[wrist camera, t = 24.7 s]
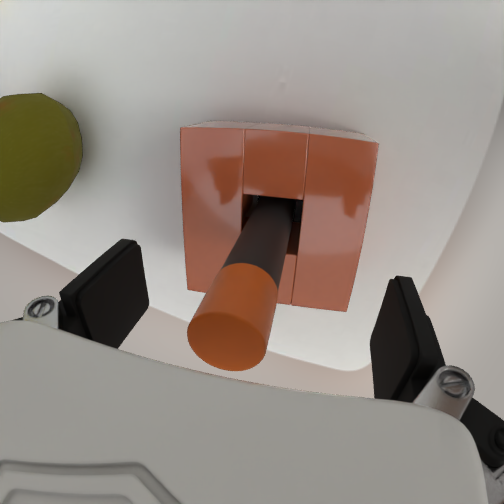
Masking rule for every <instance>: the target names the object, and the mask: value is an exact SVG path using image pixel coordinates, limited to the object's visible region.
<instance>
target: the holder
mask: <svg viewBox="0 0 504 504" xmlns="http://www.w3.org/2000/svg"><path fill="white" fill-rule="evenodd" d="M378 145H379V144H378V143H377V142H376V141H374V140H373V139H371V138H369V137H368V136H366V135H365V134H363V133H356V132H349V131H342V130H335V129H327V128H318V127H309V126H299V125H288V124H275V123H259V122H238V121H207V122H202V123H198V124H193V125H189V126H185V127H181V128H180V152H181V190H182V214H183V232H184V249H185V263H186V276H187V288H188V290H192V291H198V292H204V293H207V291H208V289H209V287H210V285H211V284H212V282H213V280H214V278H215V276H216V275H217V273H218V272H219V271H220V270H221V268H222V266H223V264H224V263H225V261H226V259H227V257H228V255H229V254H230V252H231V250H232V248H233V246H234V245H235V243H236V241H237V239H238V237H239V235H240V234H241V232H242V230H243V228H244V227H245V225H246V223H247V221H248V219H249V218H250V216H251V214H252V212H253V210H254V209H255V207H256V205H257V195H260V196H270V197H279V198H289V199H298V200H303V209H302V218H301V223H298V222H292V226H291V231H290V236H289V241H288V246H287V251H286V256H285V261H284V265H283V270H282V275H281V279H280V284H279V289H278V299H277V303H280V304H287V305H290V304H291V305H293V306H301V307H309V308H317V309H325V310H334V311H343V312H346V311H347V308H348V304H349V300H350V296H351V292H352V288H353V284H354V280H355V275H356V271H357V267H358V262H359V257H360V253H361V248H362V243H363V238H364V233H365V228H366V223H367V217H368V212H369V206H370V200H371V194H372V188H373V182H374V175H375V168H376V161H377V153H378Z"/></svg>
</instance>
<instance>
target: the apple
mask: <svg viewBox="0 0 504 504" xmlns="http://www.w3.org/2000/svg"><path fill="white" fill-rule="evenodd" d="M82 156H83V154H82V138H81V134H80V130H79V126H78V122H77V121H76V119H75V118H74V116H73V114H72V113H71V111H70V110H69V109H68V108H66V107H65V106H64V105H62V104H61V103H59V102H57V101H55V100H54V99H52V98H50V97H48V96H46V95H44V94H42V93H32V94H17V95H9V96H3V97H2V98H0V221H1V222H16V221H25V220H29V219H32V218H36V217H37V216H39V215H40V214H41V213H43V212H44V211H45V210H47V209H48V208H49V207H51V206H52V205H53V204H55V203H56V202H57V201H58V200H59V199H60V198H61V197H62V195H63V194H64V193H65V192H66V191H67V190H68V189H69V187H70V185H71V184H72V182H73V180H74V179H75V177H76V176H77V174H78V172H79V170H80V165H81V161H82Z"/></svg>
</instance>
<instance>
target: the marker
mask: <svg viewBox="0 0 504 504" xmlns="http://www.w3.org/2000/svg"><path fill="white" fill-rule="evenodd" d="M295 206H296V199H289V198H279V197H270V196H261V198H260V200H259V201H258V203H257V205H256V207H255V209H254V210H253V212H252V214H251V216H250V218H249V219H248V221H247V223H246V225H245V227H244V228H243V230H242V232H241V234H240V235H239V237H238V239H237V241H236V243H235V245H234V246H233V248H232V250H231V252H230V254H229V255H228V257H227V259H226V261H225V263H224V264H223V266H222V268H221V270H220V271H219V272H218V273H217V275H216V276H215V278H214V280H213V282H212V284H211V285H210V287H209V289H208V291H207V293H206V294H205V296H204V298H203V300H202V302H201V304H200V305H199V307H198V309H197V311H196V313H195V315H194V316H193V318H192V320H191V322H190V324H189V326H188V330H187V336H188V342H189V344H190V346H191V348H192V349H193V351H194V352H195V353H196V355H197V356H198V357H199V358H201V359H202V360H203V361H205V362H206V363H208V364H210V365H212V366H214V367H217V368H219V369H223V370H228V371H243V370H247V369H250V368H252V367H254V366H256V365H257V364H259V363H260V361H261V360H262V359H263V358H264V356H265V353H266V349H267V345H268V340H269V336H270V331H271V327H272V322H273V318H274V313H275V309H276V304H277V299H278V289H279V284H280V279H281V275H282V270H283V265H284V261H285V256H286V251H287V246H288V241H289V236H290V231H291V226H292V221H293V216H294V211H295Z"/></svg>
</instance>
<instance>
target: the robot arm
mask: <svg viewBox="0 0 504 504" xmlns="http://www.w3.org/2000/svg"><path fill="white" fill-rule="evenodd" d="M59 293H60V297H61V300H60V301H59V302H58V300H57V299H56V298H54V297H52V296H42V297H39V298H36V299H34V300H32V301H31V302H30V303H29V304H28V305H27V306H26V307H25V310H24V315H23V317H22V318H18V319H15V320H11V321H6V322H2V323H0V504H504V421H503V420H502V419H501V418H499V417H498V416H497V415H495V414H494V413H493V412H491V411H490V410H489V409H487V408H486V407H485V406H483V405H482V404H481V403H479V402H478V401H476V400H475V399H474V398H472V397H473V394H474V391H475V387H474V382H473V380H472V378H471V377H470V375H469V374H468V373H467V372H465V371H464V370H463V369H461V368H459V367H455V366H446V365H445V362H444V358H443V355H442V352H441V349H440V346H439V343H438V340H437V337H436V334H435V331H434V328H433V326H432V323H431V320H430V318H429V316H427V315H426V313H425V311H424V308H423V305H422V303H421V300H420V298H419V295H418V292H417V290H416V287H415V285H414V282H413V280H412V278H411V277H404V276H396V277H395V278H394V279H390V280H389V283H388V286H387V290H386V293H385V296H384V299H383V302H382V306H381V309H380V312H379V315H378V318H377V321H376V324H375V327H374V329H373V332H372V335H371V339H370V351H371V361H372V372H373V384H374V398H375V399H373V398H364V397H355V396H342V395H334V394H326V393H318V392H309V391H302V390H295V389H288V388H282V387H276V386H269V385H264V384H258V383H253V382H247V381H242V380H236V379H232V378H227V377H222V376H218V375H213V374H209V373H204V372H200V371H196V370H191V369H187V368H183V367H179V366H175V365H172V364H168V363H164V362H160V361H157V360H153V359H149V358H146V357H142V356H139V355H135V354H132V353H129V352H125V351H122V350H119V349H118V347H119V346H120V345H121V344H122V342H123V341H124V340H125V338H126V337H127V335H128V334H129V333H130V331H131V330H132V329H133V327H134V326H135V325H136V323H137V322H138V321H139V319H140V318H141V317H142V315H143V314H144V313H145V311H146V310H147V309H148V306H149V298H148V292H147V286H146V280H145V273H144V267H143V260H142V253H141V247H140V245H138V244H137V242H136V241H135V240H128V239H121V240H120V241H118V242H117V243H116V244H115V245H113V246H112V247H111V248H110V249H109V250H107V251H106V252H105V253H104V254H103V255H101V256H100V257H99V258H98V259H97V260H95V261H94V262H93V263H92V264H91V265H89V266H88V267H87V268H86V269H85V270H84V271H83V272H81V273H80V274H79V275H78V276H77V277H76V278H75V279H73V280H72V281H71V282H70V283H69V284H68V285H67V286H66V287H64V288H63V289H62V290H61V291H60V292H59Z"/></svg>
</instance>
